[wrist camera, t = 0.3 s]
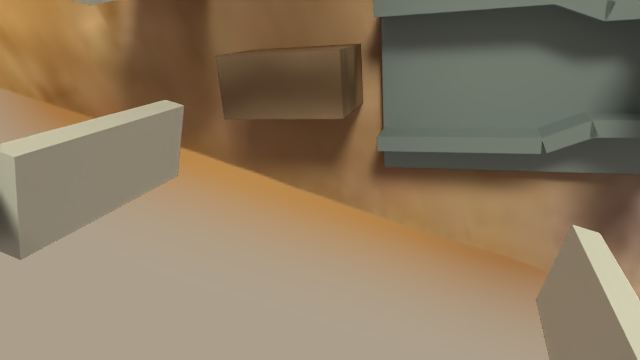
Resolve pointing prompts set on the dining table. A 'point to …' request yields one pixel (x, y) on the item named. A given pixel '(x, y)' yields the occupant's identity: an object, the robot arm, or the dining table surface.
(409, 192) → the dining table surface
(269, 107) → the brown rectangular block
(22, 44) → the dining table surface
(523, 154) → the grey grooved base
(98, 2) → the plastic cup
